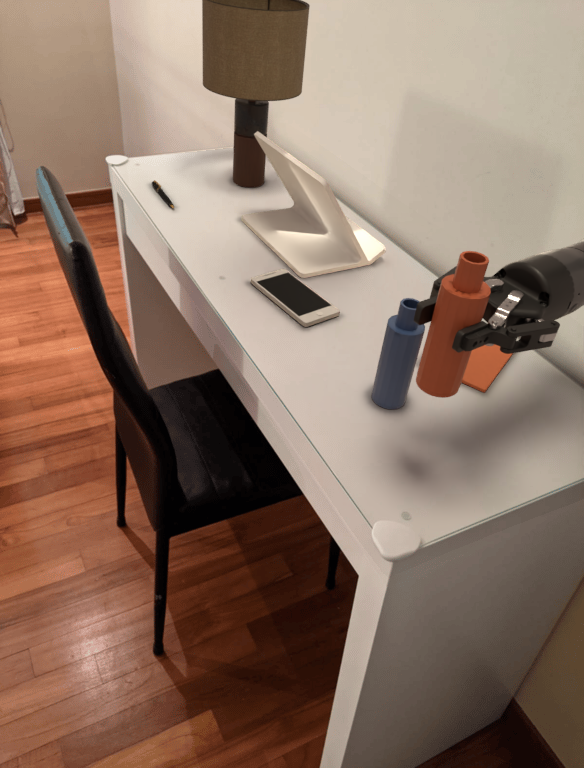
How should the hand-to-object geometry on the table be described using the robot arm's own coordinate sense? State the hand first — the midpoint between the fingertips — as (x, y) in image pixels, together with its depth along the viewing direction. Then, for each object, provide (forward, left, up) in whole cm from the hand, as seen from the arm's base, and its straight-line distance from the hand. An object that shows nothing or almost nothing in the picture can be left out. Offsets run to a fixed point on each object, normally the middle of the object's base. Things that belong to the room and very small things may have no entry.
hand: (437, 328), depth 59 cm
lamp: (+67, -58, -21) cm, 91 cm away
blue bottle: (+7, -12, -21) cm, 25 cm away
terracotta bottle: (-1, -3, -8) cm, 8 cm away
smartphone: (+31, -24, -21) cm, 44 cm away
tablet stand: (+41, -44, -21) cm, 63 cm away
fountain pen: (+74, -38, -21) cm, 86 cm away
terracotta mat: (+2, -29, -21) cm, 35 cm away
